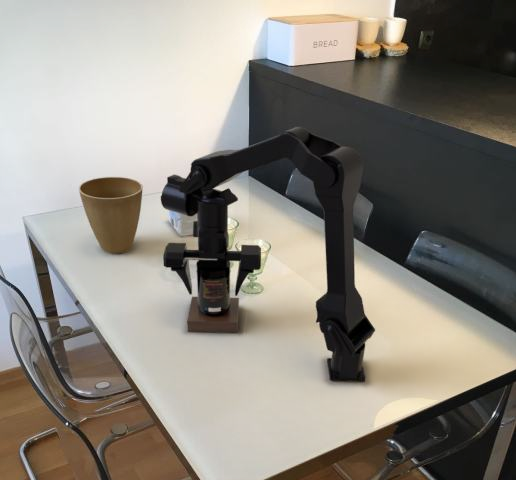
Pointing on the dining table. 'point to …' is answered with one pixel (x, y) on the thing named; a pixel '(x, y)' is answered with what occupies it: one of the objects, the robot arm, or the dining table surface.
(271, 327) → the dining table surface
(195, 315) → the walnut block
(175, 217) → the light bulb box
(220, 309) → the supplement container
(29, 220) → the dining table surface
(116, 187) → the plant pot
